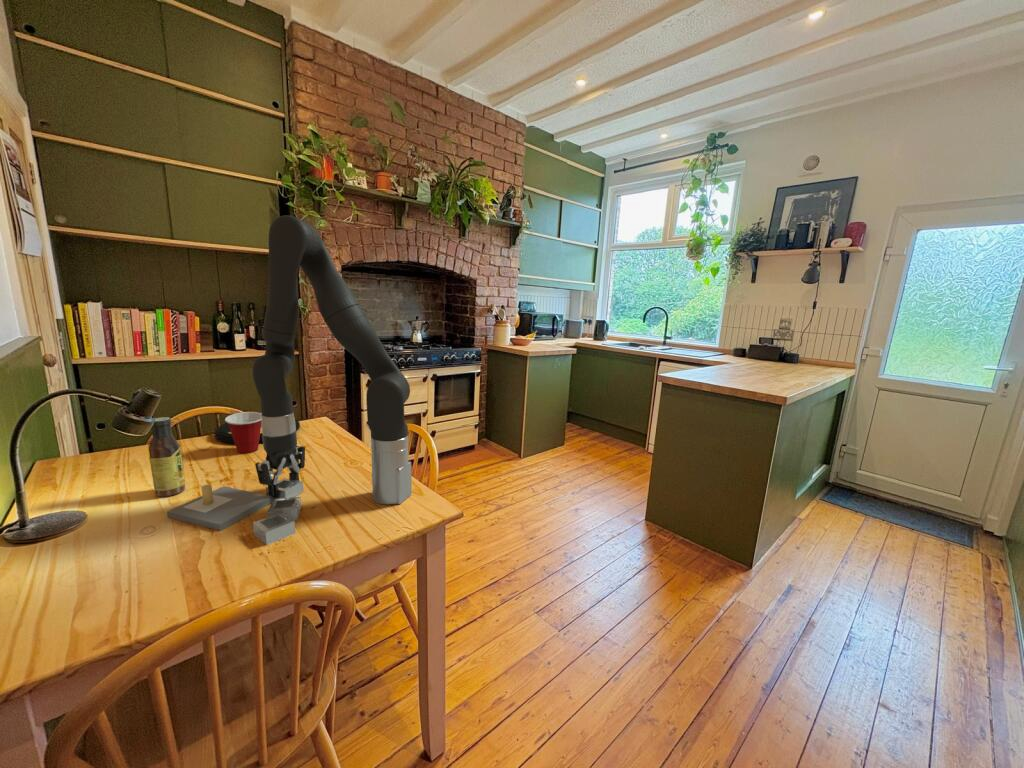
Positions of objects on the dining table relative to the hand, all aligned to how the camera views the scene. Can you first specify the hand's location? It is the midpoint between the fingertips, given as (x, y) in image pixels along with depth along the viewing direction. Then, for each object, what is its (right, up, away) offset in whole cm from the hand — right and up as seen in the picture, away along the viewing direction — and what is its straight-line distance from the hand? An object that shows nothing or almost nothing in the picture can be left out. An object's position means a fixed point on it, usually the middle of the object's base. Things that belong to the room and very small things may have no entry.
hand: (284, 490), depth 108 cm
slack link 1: (+5, -3, -9) cm, 11 cm away
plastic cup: (-28, +6, +28) cm, 40 cm away
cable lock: (-34, +9, +45) cm, 58 cm away
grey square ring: (0, -1, 0) cm, 1 cm away
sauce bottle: (-29, 0, -1) cm, 29 cm away
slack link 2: (+7, -5, -17) cm, 19 cm away
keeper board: (-11, -2, -8) cm, 14 cm away
